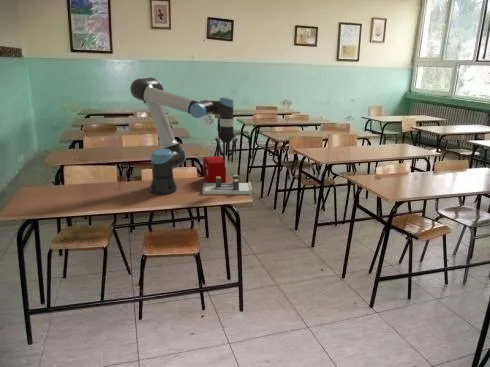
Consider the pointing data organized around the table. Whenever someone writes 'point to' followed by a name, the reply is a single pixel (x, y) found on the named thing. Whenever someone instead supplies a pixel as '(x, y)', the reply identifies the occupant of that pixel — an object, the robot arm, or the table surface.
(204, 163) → the red rectangular box
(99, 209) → the table surface
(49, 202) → the table surface
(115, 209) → the table surface
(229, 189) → the white slider panel
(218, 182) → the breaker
